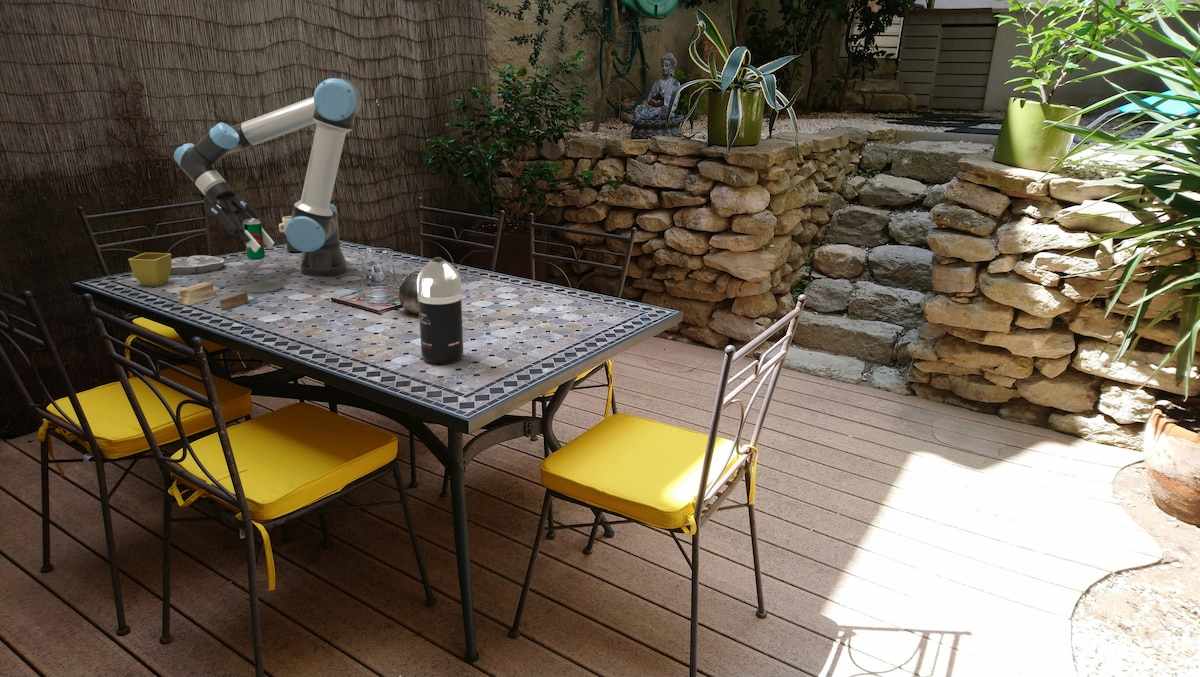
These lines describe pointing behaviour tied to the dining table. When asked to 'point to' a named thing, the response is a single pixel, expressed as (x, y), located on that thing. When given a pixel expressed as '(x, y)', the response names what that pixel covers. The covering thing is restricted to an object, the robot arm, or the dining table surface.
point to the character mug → (284, 224)
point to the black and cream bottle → (440, 312)
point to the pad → (262, 287)
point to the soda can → (256, 232)
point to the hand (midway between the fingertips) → (264, 247)
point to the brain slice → (196, 264)
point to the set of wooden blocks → (209, 296)
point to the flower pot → (151, 268)
